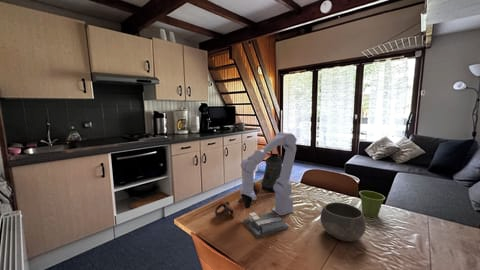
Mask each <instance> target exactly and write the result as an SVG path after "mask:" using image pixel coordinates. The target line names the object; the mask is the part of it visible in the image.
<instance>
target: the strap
mask: <svg viewBox="0 0 480 270" xmlns="http://www.w3.org/2000/svg"><path fill="white" fill-rule="evenodd" d="M281 219H282V218H281V217H280V216H279V217H276V218H271V219H266V220H262V221H257V222H255V224H256V225H257V226H258V227H260V226H263V225H266V224H270V223H273V222H277V221H280V220H281Z"/></svg>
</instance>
